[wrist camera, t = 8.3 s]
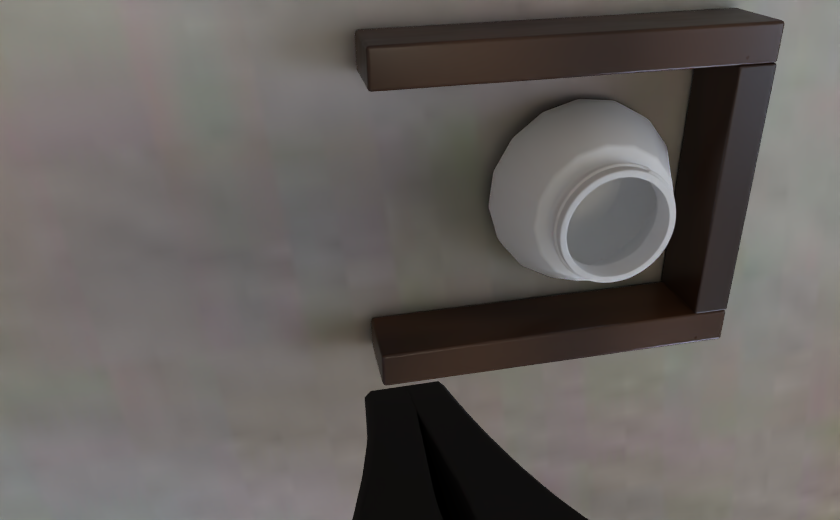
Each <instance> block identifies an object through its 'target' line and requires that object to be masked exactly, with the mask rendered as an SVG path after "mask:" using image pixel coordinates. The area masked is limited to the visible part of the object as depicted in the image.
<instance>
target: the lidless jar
mask: <svg viewBox="0 0 840 520" xmlns="http://www.w3.org/2000/svg"><path fill="white" fill-rule="evenodd" d="M488 207H489V210H490V214H491V218H492V221H493V225H494V228H495V232H496V235H497V238H498V239H499V241H500V242H501V244H502V245H503V246H504V247H505V248H506V249H507V250H508V251H509V252H510V254H511V255H512V256H513V257H514V258H515V259H516V260H517V261H518V262H519V263H520V265H521V266H523V267H526V268H528V269H531V270H533V271H536V272H538V273H541V274H543V275H546V276H548V277H552V278H560V279H568V280H576V281H583V280H589V281H593V282H599V283H610V282H617V281H621V280H624V279H627V278H630V277H632V276H634V275H636V274H638V273H640V272H641V271H643V270H644V269H646V268H647V267H648V266H650V265H651V264H652V263H653V262H654V261H655V260H656V259H657V258H658V257H659V256H660V254H661V253H662V252H663V250H664V249H665V247H666V246H667V244H668V242H669V240H670V238H671V236H672V233H673V230H674V226H675V221H676V204H675V198H674V193H673V186H672V178H671V171H670V164H669V157H668V149H667V145H666V144H665V142H664V141H663V139H662V138H661V136H660V135H659V133H658V132H657V131H656V129H655V128H654V126H653V125H652V123H651V122H650V120H649V119H647V118H646V117H644V116H642V115H640V114H639V113H637V112H635V111H633V110H631V109H629V108H627V107H626V106H624V105H622V104H620V103H618V102H616V101H614V100H594V99H577V100H574V101H571V102H569V103H566V104H563V105H561V106H558V107H555V108H553V109H550V110H547V111H544V112H542V113H541V114H540V115H539V116H537V117H536V118H535V119H534V120H533V121H532V122H530V123H529V124H528V125H527V126H526V127H525V128H523V129H522V130H521V131H520V132H519V133H518V134H516V135H515V136H514V137H513V138H512V140H511V141H510V143H509V145H508V147H507V148H506V150H505V152H504V154H503V155H502V157H501V159H500V161H499V163H498V164H497V166H496V168H495V170H494V171H493V178H492V185H491V192H490V199H489V206H488Z"/></svg>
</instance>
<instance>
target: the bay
mask: <svg viewBox="0 0 840 520" xmlns="http://www.w3.org/2000/svg"><path fill="white" fill-rule="evenodd" d="M783 28H784V21H782V20H779V19H775V18H771V17H768V16H764V15H760V14H757V13H753V12H749V11H746V10H742V9H738V8H729V9H711V10H694V11H676V12H659V13H641V14H624V15H606V16H589V17H571V18H554V19H536V20H519V21H501V22H483V23H466V24H448V25H431V26H413V27H396V28H378V29H361V30H356V31H355V48H356V66H357V71H358V73H359V74H360V76H361V78H362V80H363V82H364V83H365V85H366V87H367V89H368V90H369V91H371V92H374V91H388V90H402V89H415V88H429V87H443V86H457V85H471V84H485V83H499V82H513V81H527V80H541V79H555V78H569V77H583V76H597V75H611V74H625V73H639V72H653V71H666V70H680V69H694V74H693V80H692V87H691V93H690V100H689V106H688V113H687V119H686V126H685V132H684V139H683V145H682V152H681V158H680V164H679V171H678V177H677V184H676V190H675V197H674V198H675V204H676V221H675V226H674V230H673V233H672V236H671V238H670V240H669V242H668V244H667V249H666V255H665V262H664V268H663V275H662V282H658V283H650V284H642V285H634V286H626V287H618V288H609V289H601V290H593V291H585V292H577V293H569V294H561V295H553V296H545V297H537V298H529V299H521V300H513V301H505V302H497V303H489V304H481V305H473V306H465V307H457V308H449V309H441V310H433V311H425V312H417V313H409V314H401V315H393V316H385V317H377V318H373V319H372V321H371V326H372V343H373V349H374V352H375V356H376V360H377V364H378V367H379V371H380V375H381V379H382V382H383V384H384V385H392V384H400V383H407V382H414V381H421V380H428V379H435V378H442V377H449V376H456V375H463V374H470V373H477V372H485V371H492V370H499V369H506V368H513V367H520V366H527V365H534V364H541V363H548V362H555V361H563V360H570V359H577V358H584V357H591V356H598V355H605V354H612V353H619V352H626V351H633V350H640V349H648V348H655V347H662V346H669V345H676V344H683V343H690V342H697V341H704V340H711V339H718V338H720V335H721V330H722V325H723V320H724V315H725V309H726V308H727V303H728V298H729V294H730V289H731V284H732V279H733V274H734V269H735V264H736V259H737V255H738V250H739V245H740V240H741V235H742V230H743V225H744V220H745V216H746V211H747V206H748V201H749V196H750V191H751V186H752V182H753V177H754V172H755V167H756V162H757V157H758V152H759V147H760V143H761V138H762V133H763V128H764V123H765V118H766V113H767V108H768V104H769V99H770V94H771V89H772V84H773V79H774V74H775V69H776V64H775V63H774V62H776V61H777V57H778V52H779V48H780V43H781V38H782V33H783Z"/></svg>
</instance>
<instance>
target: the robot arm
mask: <svg viewBox="0 0 840 520" xmlns="http://www.w3.org/2000/svg"><path fill="white" fill-rule="evenodd" d="M365 408H366V422H367V448H366V455H365V462H364V469H363V476H362V481H361V485H360V490H359V494H358V498H357V503H356V507H355V512H354V516H353V519H352V520H588V519H587V518H585V517H584V516H582V515H581V514H580V513H578V512H577V511H575V510H574V509H573V508H571V507H570V506H569V505H567V504H566V503H565V502H563V501H562V500H561V499H559V498H558V497H557V496H555V495H554V494H553V493H552V492H550V491H549V490H548V489H547V488H546V487H544V486H543V485H542V484H541V483H540V482H538V481H537V480H536V479H535V478H534V477H533V476H531V475H530V474H529V473H528V472H527V471H526V470H524V469H523V468H522V467H521V466H520V465H519V464H518V463H517V462H516V461H515V460H513V459H512V458H511V457H510V456H509V455H508V454H507V453H506V452H505V451H504V450H503V449H502V448H501V447H500V446H499V445H498V444H497V443H496V442H495V441H494V440H493V439H492V438H491V437H490V436H489V435H488V434H487V433H486V432H485V431H484V430H483V429H482V428H481V427H480V426H479V425H478V424H477V423H476V422H475V421H474V420H473V418H472V417H471V416H470V415H469V414H468V413H467V412H466V411H465V410H464V409H463V407H462V406H461V405H460V404H459V403H458V402H457V401H456V399H455V398H454V397H453V396H452V395H451V394H450V392H449V391H448V390H447V389H446V387H445V386H444V385H442V384H441V383H440V382H439V381H437V382H430V383H423V384H416V385H409V386H403V387H396V388H389V389H382V390H375V391H371V392H370V393H369V394H368V395H367V396H366V397H365Z"/></svg>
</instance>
